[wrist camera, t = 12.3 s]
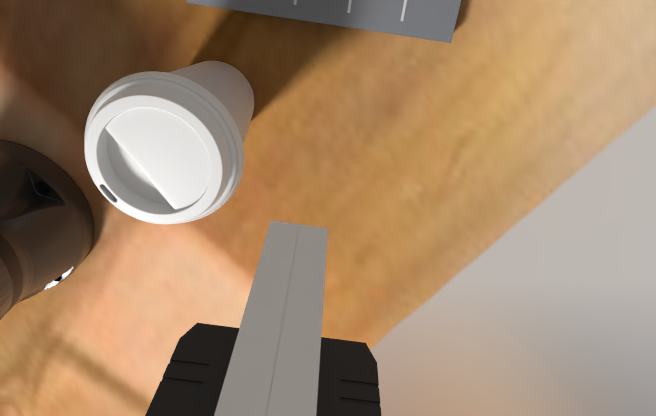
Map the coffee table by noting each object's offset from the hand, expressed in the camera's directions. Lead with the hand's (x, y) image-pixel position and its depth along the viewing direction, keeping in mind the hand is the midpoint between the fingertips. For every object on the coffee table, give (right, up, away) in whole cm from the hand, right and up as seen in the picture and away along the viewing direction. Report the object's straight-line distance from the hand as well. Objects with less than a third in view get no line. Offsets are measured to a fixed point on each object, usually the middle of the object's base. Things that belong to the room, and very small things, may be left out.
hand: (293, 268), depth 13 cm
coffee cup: (-9, +11, +28) cm, 31 cm away
